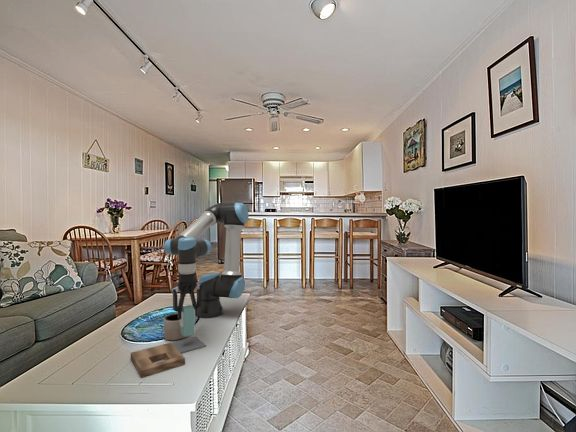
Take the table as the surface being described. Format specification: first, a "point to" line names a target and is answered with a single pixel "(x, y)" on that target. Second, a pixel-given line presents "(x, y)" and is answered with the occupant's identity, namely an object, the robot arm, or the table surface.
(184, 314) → the teal block
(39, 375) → the table surface
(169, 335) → the planter
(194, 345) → the rubber mat
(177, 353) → the pocket board
